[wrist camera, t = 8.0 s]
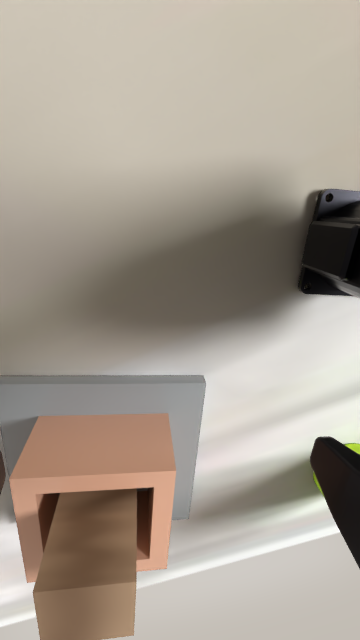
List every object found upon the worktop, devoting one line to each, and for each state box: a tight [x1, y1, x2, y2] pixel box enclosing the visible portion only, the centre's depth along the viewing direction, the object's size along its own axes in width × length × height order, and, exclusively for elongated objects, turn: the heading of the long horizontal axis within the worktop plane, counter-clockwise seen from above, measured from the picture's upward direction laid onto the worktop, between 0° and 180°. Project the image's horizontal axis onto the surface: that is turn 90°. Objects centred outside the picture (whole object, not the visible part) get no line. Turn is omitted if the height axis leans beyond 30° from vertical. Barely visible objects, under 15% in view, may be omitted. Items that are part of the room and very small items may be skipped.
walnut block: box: [33, 488, 137, 640], centre depth 18 cm, size 4×4×9 cm
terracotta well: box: [0, 376, 206, 583], centre depth 20 cm, size 14×14×6 cm
